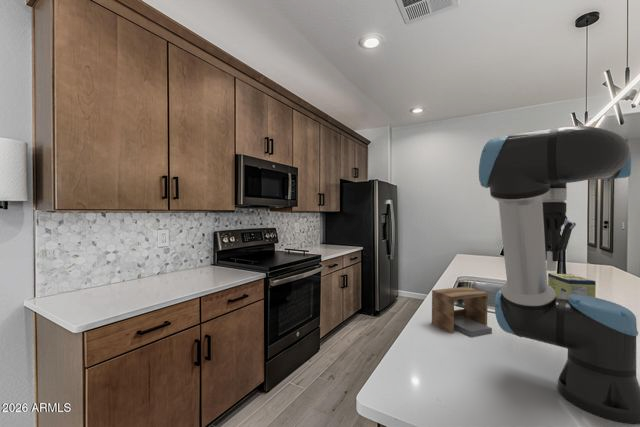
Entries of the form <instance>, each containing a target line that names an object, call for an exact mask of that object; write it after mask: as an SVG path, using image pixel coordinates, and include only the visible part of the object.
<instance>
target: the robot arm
mask: <svg viewBox="0 0 640 427" xmlns="http://www.w3.org/2000/svg"><path fill="white" fill-rule="evenodd" d="M478 163H479V164H478V180H479V184H480V186H481V187H482V188H485V189H488V188H489V192H490V197H491V198H493V199H494V200H496V201H497V202H498V208H499V219H500V220H499V221H500V228H501V229H500V230H501V237H502V239H501V240H502V245H503V246H502V247H503V256H504V264H505V266H504V269H505V275H506V282H505V283H503V285H502V286H501V288H500V289H499V290H497V291H496V294H495V297H494V298H495V299H494V306H495V307H494V314H495V318H496V322H497V324H498V326H499V327H500V329H501V330H502V331H503V332H505V333H507V334H511V335H514V336H516V337H519V338H525V339H530V340H533V341H537V342H541V343H544V344H548V345H553V346H556V347H559V348H560V347H561V348H565V349H567V358H566V362H565V363H564V365H563V368H562V370H561V372H560V374H559V376H558V378H557V379H558V380H557V390H558V392H559V393H560V395H561V396H562V397H563V398H565V399H566V400H567V401H568V402H570V403H571V404H573V405H575V406H576V407H579V408H580V409H582V410H583V411H586V412H588V413H590V414H594V415H595V416H599V417H602V418H605V419H608V420H612V421H617V422H621V423H627V424H640V384H639V380H638V379H637V337H638V336H639V331H638V327H637V326H638V324H637V316H636V315H635V313H634V312H633V311H631V310H630V309H629V308H627V307H625V306H623V305H621V304H618V303H616V302H612V301H610V300H607V299H602V298H599V297H596V296H595V297H591V296H586V295H578V294H572V295H569V297H568V298H567V300H566V299H560V298H556V293H555V291H554V289H553V288H552V287H551V286H549V285H548V274H547V272H556V271H557V262H559V261H560V252H562V251H566V250H567V247H568V245H569V240H570V238H571V234H572V231H573V229H574V228H575V227H576V225H577V224H576V222H572V221H570V220H569V219H568V217H567V206H568V205H567V203H566V202H565V201H567V196H568V195H567V187H568V186H567V184H569V183H570V184H571V183H578V182H583V181H590V180H591V181H594V180H617V179H624V178H628V177H630V176H631V173H632V172H631V171H632V153H631V152H630V146H629V144H628V141H627V140H626V139H625V138H624V137H623V136H621V135H620V134H618V133H616V132H613V131H612V130H608V129H605V128H601V127H596V126H589V125H588V126H586V125H565V126H559V127H554V128H548V129H540V130H534V131H528V132H527V131H526V132H518V133H512V134H511V133H510V134H509V133H508V134H506V135H503V136H497V137H493V138H491V139H489V140H488V141H486V143H485V145H483V147H482V151H481V154H480V158H479V162H478ZM563 226H564V227H563ZM562 227H563V229H562Z"/></svg>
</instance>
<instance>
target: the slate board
mask: <svg viewBox="0 0 640 427" xmlns="http://www.w3.org/2000/svg"><path fill="white" fill-rule="evenodd" d="M454 331H457V332H459V333H461V334H463V335H466V336H468V337H470V338H476V337H481V336H485V335H491V334H493V328H492V327H491V326H488V325H487V326H486V325H483V324H481V323H478V322H476V321H473V320H471V319H468V318H466V317H463V316H461V315H460V316H454Z"/></svg>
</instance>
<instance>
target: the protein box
mask: <svg viewBox="0 0 640 427" xmlns="http://www.w3.org/2000/svg"><path fill="white" fill-rule="evenodd" d="M547 284H548V285H549V286H551V287H552V288H553V289H554V291H555V293H556V298H560V299H566V300H567V298H568V297H569V295H572V294H578V295H586V296H591V297H595V298H596V284H597V283H596V280H593V279H590V278H585V277H582V276H579V275H575V274H572V273H550V272H549V273H548V274H547Z"/></svg>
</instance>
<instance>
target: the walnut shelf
mask: <svg viewBox="0 0 640 427" xmlns="http://www.w3.org/2000/svg"><path fill="white" fill-rule="evenodd" d="M488 296H489V294H488V292H487V291H483V290H479V289H476V288H473V287H469V286H460V287H458V286H457V287H448V288H442V289H432V290H431V325H433V326H436V327H437V328H440V329H441V330H444V331H446V332H448V333H450V334H455V332H454V331H455V329H454V316H460V315H461V316H463V317H466V318H468V319H471V320H473V321H476V322H478V323H481V324H483V325H486V326H488V305H489V304H488V302H489V300H488V298H489V297H488ZM455 300H456V301H457V300H463V308H460V309H455Z"/></svg>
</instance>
